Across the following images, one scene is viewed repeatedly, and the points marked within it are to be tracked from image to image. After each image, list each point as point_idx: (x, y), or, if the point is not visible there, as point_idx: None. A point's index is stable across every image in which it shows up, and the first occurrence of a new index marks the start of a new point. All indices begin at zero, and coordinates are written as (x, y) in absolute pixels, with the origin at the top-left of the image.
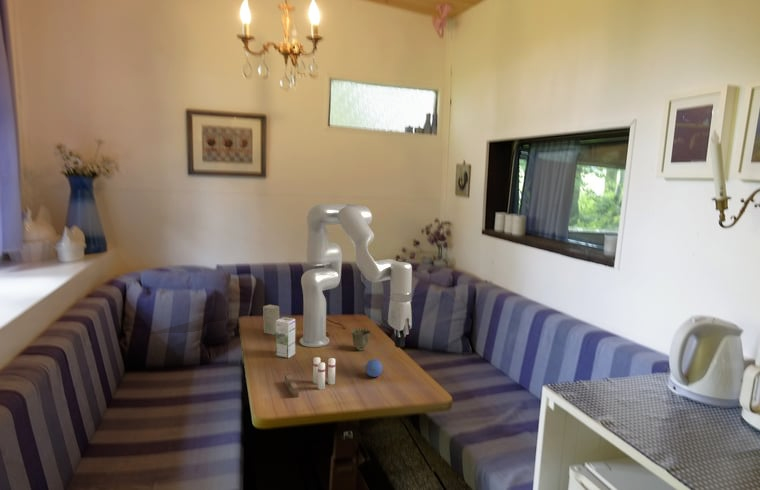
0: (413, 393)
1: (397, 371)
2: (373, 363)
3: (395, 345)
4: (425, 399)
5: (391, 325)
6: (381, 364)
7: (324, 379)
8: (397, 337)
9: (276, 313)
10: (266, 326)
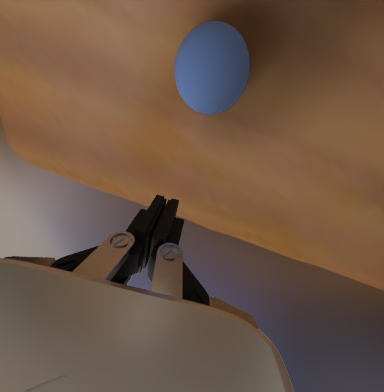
0: (53, 105)
1: (195, 172)
2: (193, 44)
3: (172, 200)
4: (13, 108)
5: (159, 312)
6: (186, 99)
7: None
8: (135, 230)
9: None
10: None
